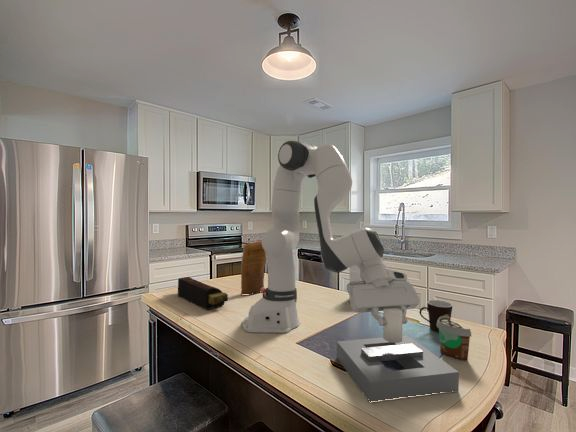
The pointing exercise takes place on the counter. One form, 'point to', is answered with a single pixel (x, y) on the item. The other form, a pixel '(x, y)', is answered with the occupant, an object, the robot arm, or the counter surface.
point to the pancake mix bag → (252, 268)
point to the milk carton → (354, 275)
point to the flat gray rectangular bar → (391, 352)
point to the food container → (453, 339)
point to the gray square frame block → (393, 384)
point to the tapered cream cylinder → (392, 325)
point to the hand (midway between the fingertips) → (393, 324)
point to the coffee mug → (437, 312)
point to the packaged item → (200, 293)
